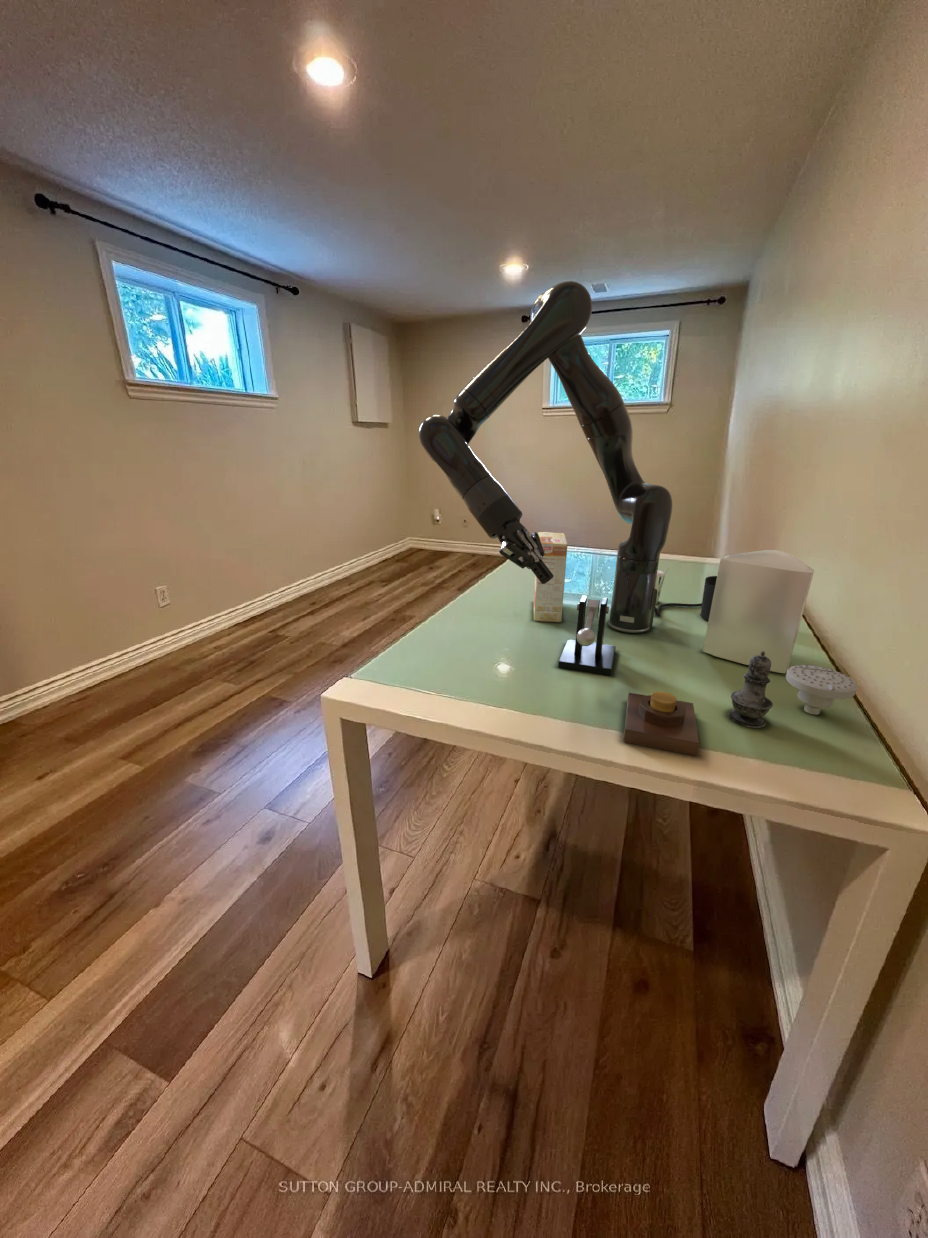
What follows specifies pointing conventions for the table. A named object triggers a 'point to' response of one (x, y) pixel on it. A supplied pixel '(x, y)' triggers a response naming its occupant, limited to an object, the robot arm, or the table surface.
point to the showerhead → (819, 686)
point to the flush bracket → (591, 656)
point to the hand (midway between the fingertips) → (548, 580)
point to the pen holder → (708, 596)
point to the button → (663, 702)
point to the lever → (589, 623)
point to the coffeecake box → (552, 592)
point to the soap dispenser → (758, 607)
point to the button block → (661, 726)
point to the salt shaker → (753, 695)
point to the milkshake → (659, 583)
